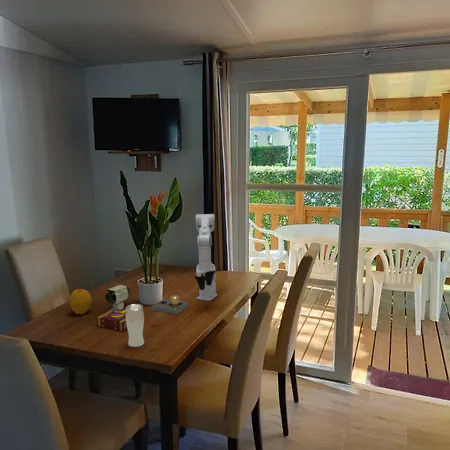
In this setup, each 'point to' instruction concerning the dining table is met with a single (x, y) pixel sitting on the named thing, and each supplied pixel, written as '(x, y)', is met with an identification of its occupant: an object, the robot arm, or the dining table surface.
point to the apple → (80, 301)
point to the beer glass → (135, 324)
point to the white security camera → (117, 296)
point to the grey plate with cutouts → (166, 306)
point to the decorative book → (113, 319)
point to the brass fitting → (175, 301)
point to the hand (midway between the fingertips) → (205, 287)
